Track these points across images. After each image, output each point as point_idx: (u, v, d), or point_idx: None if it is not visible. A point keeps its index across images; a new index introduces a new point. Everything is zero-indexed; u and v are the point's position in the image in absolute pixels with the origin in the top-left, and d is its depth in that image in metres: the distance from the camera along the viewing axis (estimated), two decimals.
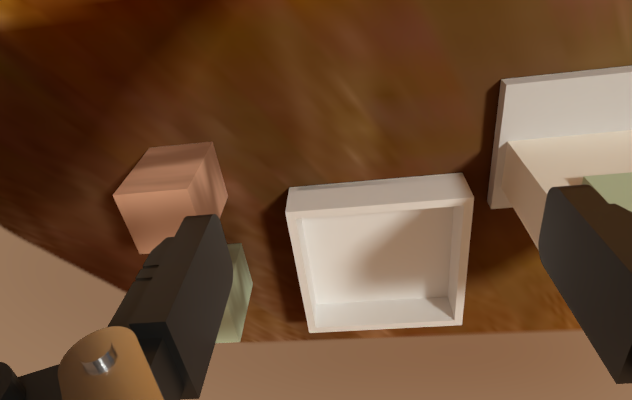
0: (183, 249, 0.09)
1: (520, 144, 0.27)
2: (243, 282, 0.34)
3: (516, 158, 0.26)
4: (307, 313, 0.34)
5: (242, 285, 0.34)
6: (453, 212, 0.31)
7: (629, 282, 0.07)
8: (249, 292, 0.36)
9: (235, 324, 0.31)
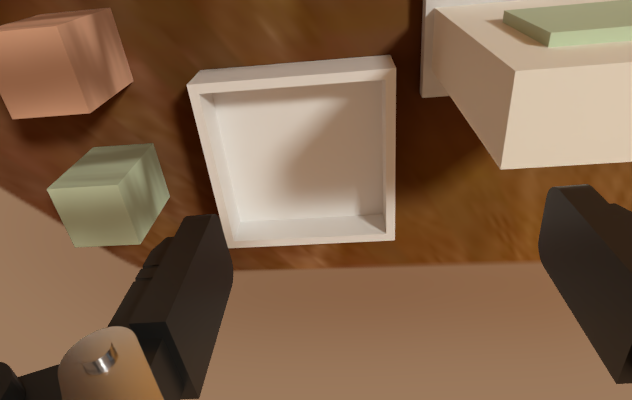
0: (183, 249, 0.09)
1: (447, 8, 0.24)
2: (152, 185, 0.30)
3: (440, 19, 0.23)
4: (223, 222, 0.31)
5: (150, 186, 0.30)
6: (381, 103, 0.28)
7: (629, 282, 0.07)
8: (163, 202, 0.32)
9: (133, 221, 0.28)
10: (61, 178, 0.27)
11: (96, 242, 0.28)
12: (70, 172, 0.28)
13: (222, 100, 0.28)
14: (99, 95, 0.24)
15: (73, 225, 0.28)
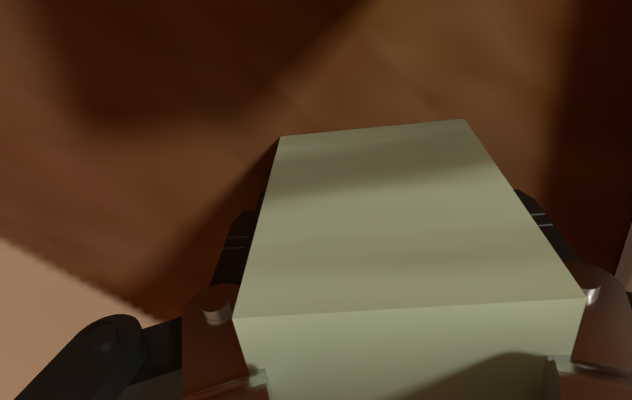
0: None
1: None
2: None
3: None
4: None
5: None
6: None
7: None
8: None
9: None
10: (261, 255, 0.07)
11: None
12: (279, 225, 0.07)
13: None
14: None
15: None
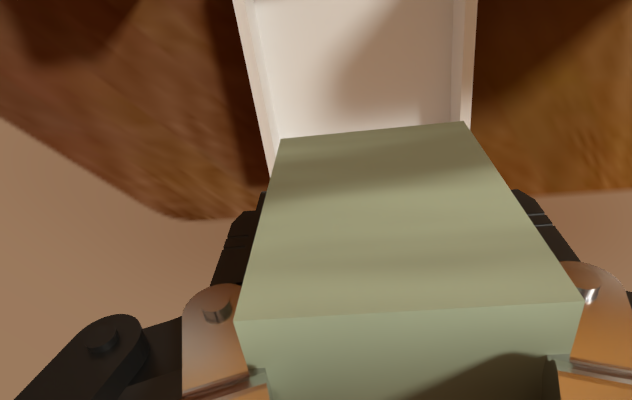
0: None
1: None
2: None
3: None
4: (265, 143, 0.26)
5: None
6: None
7: None
8: None
9: None
10: (262, 257, 0.07)
11: None
12: (279, 228, 0.08)
13: None
14: None
15: None
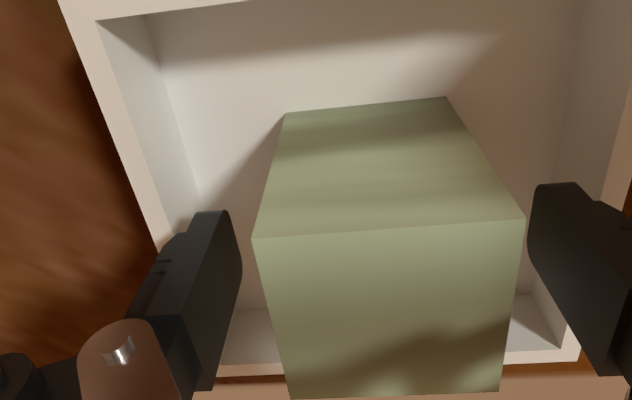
0: (195, 243, 0.09)
1: None
2: None
3: None
4: None
5: None
6: (579, 44, 0.11)
7: (610, 276, 0.07)
8: None
9: None
10: (273, 197, 0.08)
11: (362, 387, 0.09)
12: (287, 177, 0.09)
13: (178, 53, 0.12)
14: None
15: (307, 345, 0.09)
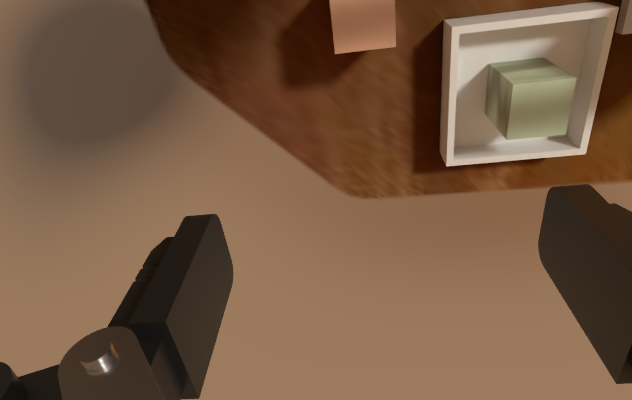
0: (183, 249, 0.09)
1: None
2: None
3: None
4: (449, 143, 0.39)
5: None
6: (587, 40, 0.36)
7: (629, 282, 0.07)
8: None
9: None
10: (510, 79, 0.33)
11: (528, 134, 0.34)
12: (509, 75, 0.34)
13: (458, 43, 0.36)
14: None
15: (517, 118, 0.33)
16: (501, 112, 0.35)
